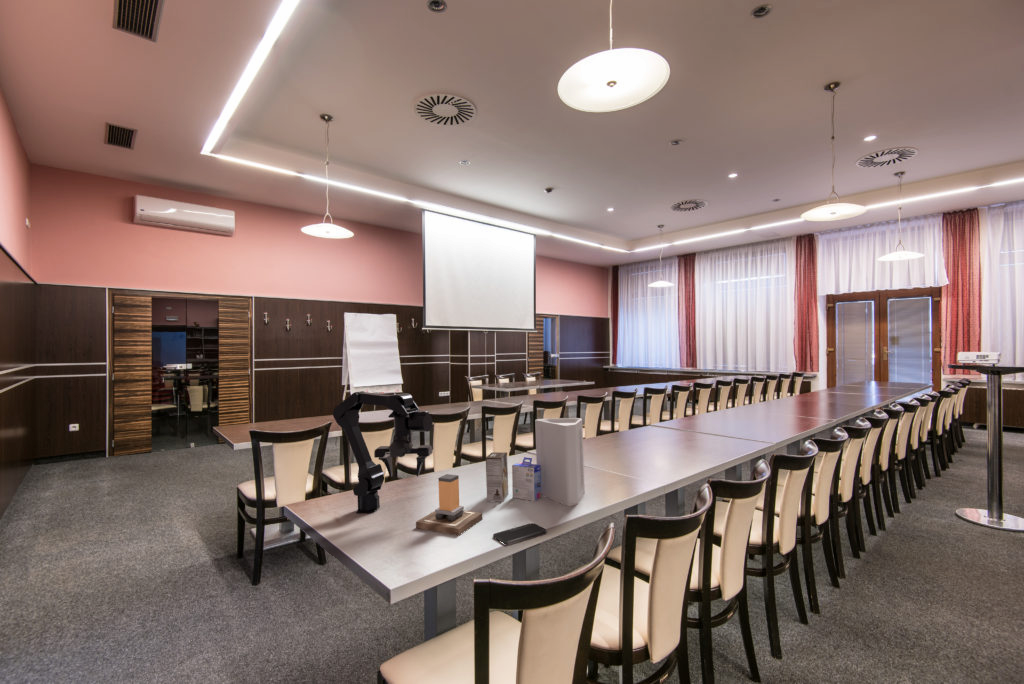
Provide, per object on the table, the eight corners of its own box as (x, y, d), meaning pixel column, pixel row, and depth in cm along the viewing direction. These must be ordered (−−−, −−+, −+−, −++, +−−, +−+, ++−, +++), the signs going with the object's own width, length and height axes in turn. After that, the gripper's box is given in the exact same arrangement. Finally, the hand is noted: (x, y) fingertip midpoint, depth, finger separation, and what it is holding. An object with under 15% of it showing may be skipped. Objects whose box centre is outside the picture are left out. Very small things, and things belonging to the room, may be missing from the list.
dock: (416, 528, 142) (415, 521, 142) (441, 513, 154) (441, 506, 154) (459, 535, 135) (459, 528, 135) (482, 519, 147) (482, 512, 147)
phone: (548, 530, 135) (505, 543, 127) (548, 534, 135) (505, 547, 126) (533, 522, 141) (491, 534, 133) (533, 526, 141) (491, 537, 133)
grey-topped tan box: (434, 519, 143) (433, 478, 143) (446, 512, 149) (445, 473, 149) (453, 522, 140) (452, 480, 140) (464, 515, 146) (463, 475, 146)
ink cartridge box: (542, 497, 167) (541, 458, 168) (535, 501, 163) (534, 461, 163) (519, 493, 173) (518, 455, 173) (512, 497, 168) (510, 458, 168)
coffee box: (492, 493, 174) (491, 451, 174) (508, 494, 172) (507, 452, 173) (486, 501, 165) (485, 457, 165) (503, 502, 163) (502, 457, 164)
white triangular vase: (599, 498, 165) (597, 421, 165) (568, 506, 157) (565, 425, 157) (566, 485, 181) (564, 415, 181) (536, 492, 173) (534, 419, 173)
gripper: (367, 435, 147) (368, 483, 146) (423, 434, 145) (425, 482, 145) (379, 429, 158) (380, 474, 157) (432, 428, 157) (433, 473, 156)
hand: (404, 476), depth 154 cm, fingers open, 9 cm apart
